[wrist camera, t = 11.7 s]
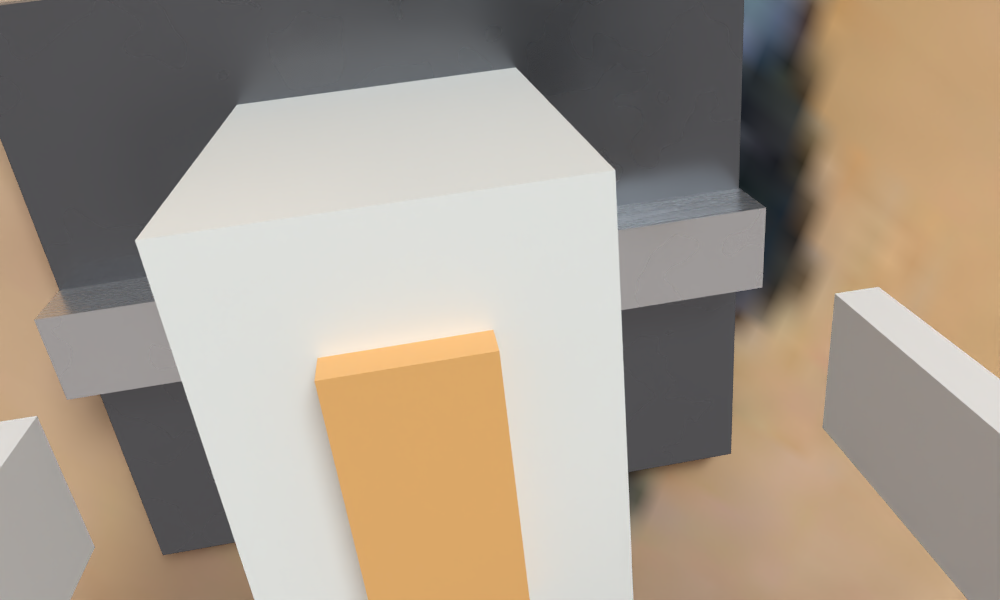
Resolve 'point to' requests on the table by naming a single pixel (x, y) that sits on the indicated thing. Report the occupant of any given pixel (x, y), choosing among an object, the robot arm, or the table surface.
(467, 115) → the block
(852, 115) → the table surface
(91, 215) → the mounting plate
